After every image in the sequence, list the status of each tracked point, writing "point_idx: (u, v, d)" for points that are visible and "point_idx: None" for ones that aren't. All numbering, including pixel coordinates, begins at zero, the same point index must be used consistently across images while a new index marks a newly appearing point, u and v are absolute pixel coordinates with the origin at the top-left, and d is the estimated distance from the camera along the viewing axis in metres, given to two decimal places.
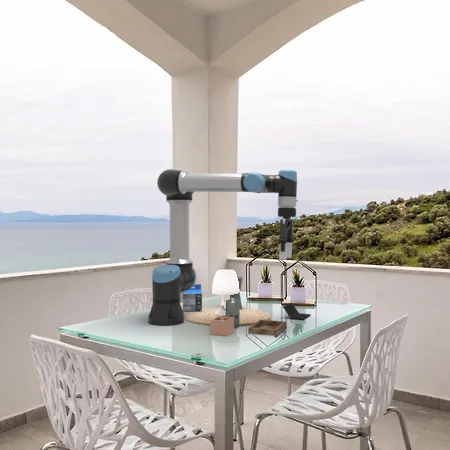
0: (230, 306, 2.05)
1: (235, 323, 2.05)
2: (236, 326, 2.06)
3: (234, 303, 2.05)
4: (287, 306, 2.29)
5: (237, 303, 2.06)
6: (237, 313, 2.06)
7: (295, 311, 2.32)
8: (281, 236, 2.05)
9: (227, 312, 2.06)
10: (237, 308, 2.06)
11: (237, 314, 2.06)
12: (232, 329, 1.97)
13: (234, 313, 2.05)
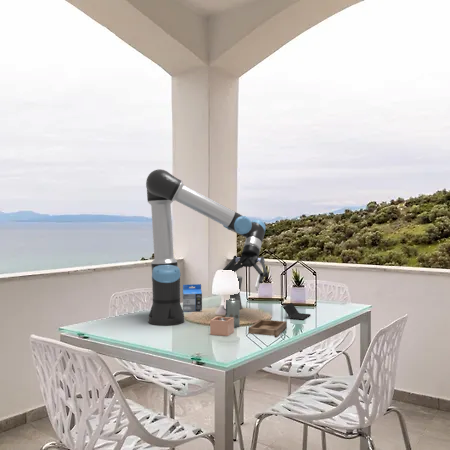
0: (230, 306, 2.05)
1: (235, 323, 2.05)
2: (236, 326, 2.06)
3: (234, 303, 2.05)
4: (287, 306, 2.29)
5: (237, 303, 2.06)
6: (237, 313, 2.06)
7: (295, 311, 2.32)
8: (266, 270, 2.20)
9: (227, 312, 2.06)
10: (237, 308, 2.06)
11: (237, 314, 2.06)
12: (232, 329, 1.97)
13: (234, 313, 2.05)
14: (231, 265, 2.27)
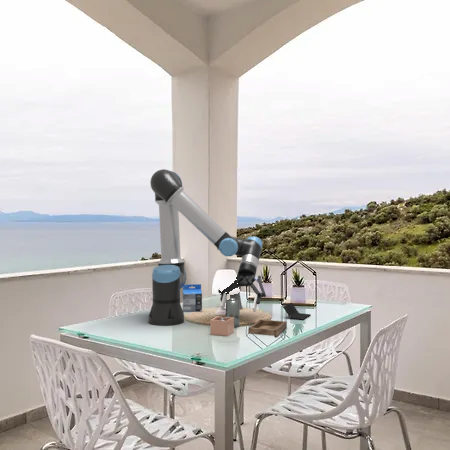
0: (230, 306, 2.05)
1: (235, 323, 2.05)
2: (236, 326, 2.06)
3: (234, 303, 2.05)
4: (287, 306, 2.29)
5: (237, 303, 2.06)
6: (237, 313, 2.06)
7: (295, 311, 2.32)
8: None
9: (227, 312, 2.06)
10: (237, 308, 2.06)
11: (237, 314, 2.06)
12: (232, 329, 1.97)
13: (234, 313, 2.05)
14: None
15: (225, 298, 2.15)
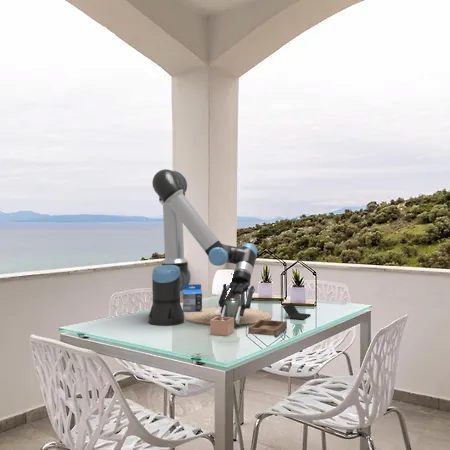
0: (230, 306, 2.05)
1: (235, 323, 2.05)
2: (236, 326, 2.06)
3: (234, 303, 2.05)
4: (287, 306, 2.29)
5: (237, 303, 2.06)
6: None
7: (295, 311, 2.32)
8: (249, 302, 2.08)
9: (227, 312, 2.06)
10: (237, 308, 2.06)
11: None
12: (232, 329, 1.97)
13: (234, 312, 2.05)
14: (224, 295, 2.14)
15: (225, 310, 2.08)
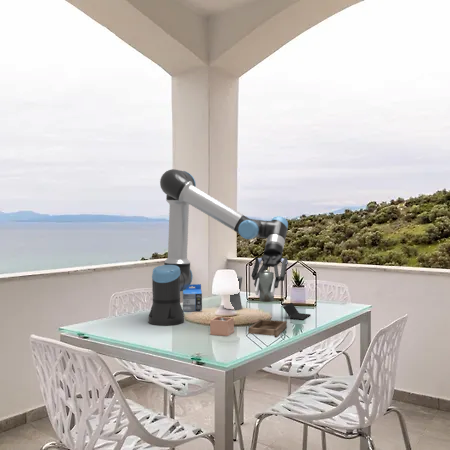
0: (264, 278, 2.00)
1: (270, 295, 2.00)
2: (271, 298, 2.01)
3: (268, 275, 2.00)
4: (287, 306, 2.29)
5: (271, 275, 2.01)
6: (271, 285, 2.01)
7: (295, 311, 2.32)
8: (284, 274, 2.03)
9: (261, 284, 2.01)
10: (271, 280, 2.01)
11: (271, 286, 2.01)
12: (232, 329, 1.97)
13: (269, 285, 2.00)
14: (257, 268, 2.09)
15: None
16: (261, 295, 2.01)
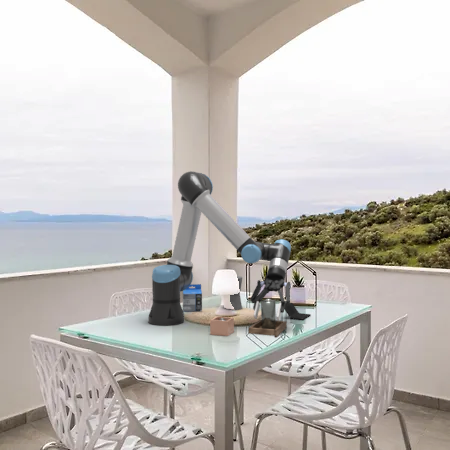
0: (266, 307, 2.00)
1: (272, 324, 2.00)
2: (273, 327, 2.01)
3: (270, 304, 2.00)
4: (287, 306, 2.29)
5: (273, 304, 2.01)
6: (273, 314, 2.01)
7: (295, 311, 2.32)
8: (289, 298, 2.03)
9: (263, 313, 2.01)
10: (273, 309, 2.01)
11: (273, 315, 2.01)
12: (232, 329, 1.97)
13: (271, 313, 2.00)
14: (258, 291, 2.09)
15: (258, 307, 2.04)
16: (263, 324, 2.01)
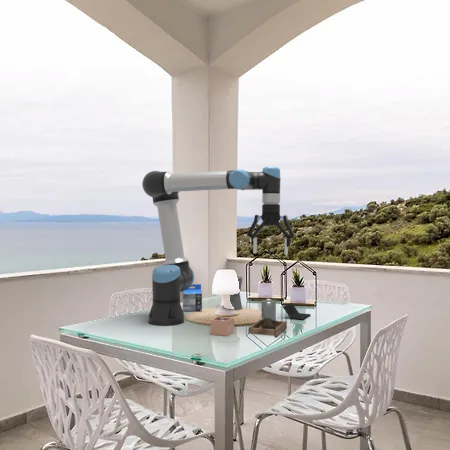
0: (266, 307, 2.00)
1: (272, 324, 2.00)
2: (273, 327, 2.01)
3: (271, 304, 2.00)
4: (287, 306, 2.29)
5: (273, 304, 2.01)
6: (274, 314, 2.01)
7: (295, 311, 2.32)
8: (292, 232, 2.16)
9: (263, 313, 2.01)
10: (273, 309, 2.01)
11: (274, 315, 2.01)
12: (232, 329, 1.97)
13: (271, 313, 2.00)
14: (254, 226, 2.21)
15: (256, 242, 2.22)
16: (263, 324, 2.01)
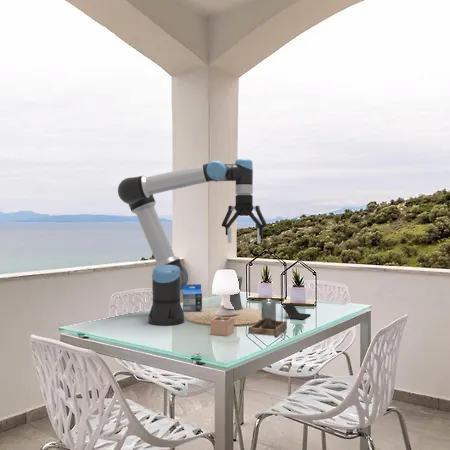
0: (266, 307, 2.00)
1: (272, 324, 2.00)
2: (273, 327, 2.01)
3: (270, 304, 2.00)
4: (287, 306, 2.29)
5: (273, 304, 2.01)
6: (274, 314, 2.01)
7: (295, 311, 2.32)
8: (264, 221, 2.24)
9: (263, 313, 2.01)
10: (273, 309, 2.01)
11: (274, 315, 2.01)
12: (232, 329, 1.97)
13: (271, 313, 2.00)
14: (228, 216, 2.29)
15: (230, 232, 2.29)
16: (263, 324, 2.01)
